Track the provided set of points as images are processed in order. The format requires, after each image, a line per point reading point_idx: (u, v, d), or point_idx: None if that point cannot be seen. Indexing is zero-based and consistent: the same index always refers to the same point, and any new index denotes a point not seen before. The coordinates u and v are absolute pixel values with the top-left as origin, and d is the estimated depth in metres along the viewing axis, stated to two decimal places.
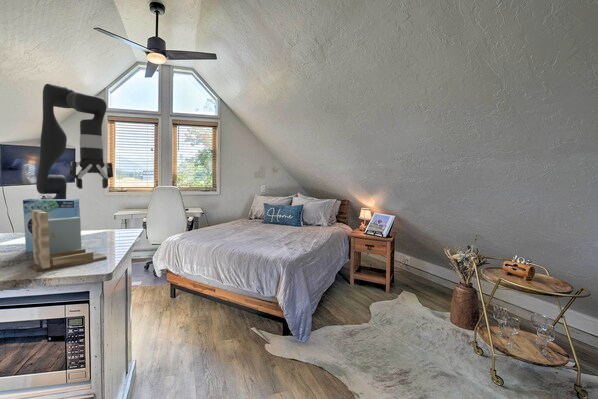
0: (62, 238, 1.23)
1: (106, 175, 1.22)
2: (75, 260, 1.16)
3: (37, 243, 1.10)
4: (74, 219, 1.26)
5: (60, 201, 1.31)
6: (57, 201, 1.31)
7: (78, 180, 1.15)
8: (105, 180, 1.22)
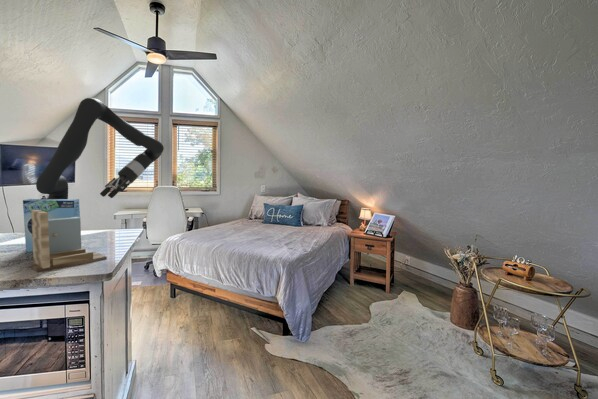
0: (62, 238, 1.23)
1: None
2: (75, 260, 1.16)
3: (37, 243, 1.10)
4: (74, 219, 1.26)
5: (60, 201, 1.31)
6: (57, 201, 1.31)
7: None
8: (108, 192, 1.41)
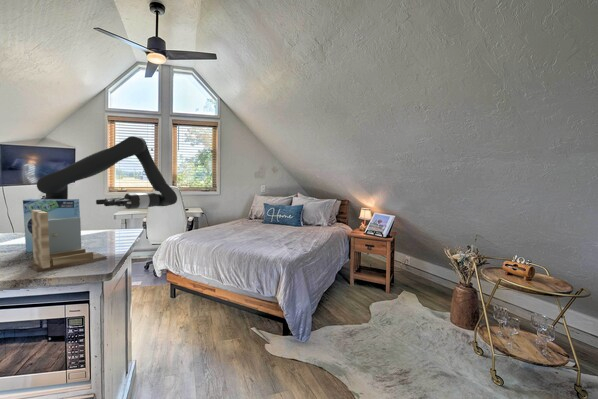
0: (62, 238, 1.23)
1: None
2: (75, 260, 1.16)
3: (37, 243, 1.10)
4: (74, 219, 1.26)
5: (60, 201, 1.31)
6: (57, 201, 1.31)
7: (113, 204, 1.35)
8: (104, 204, 1.41)
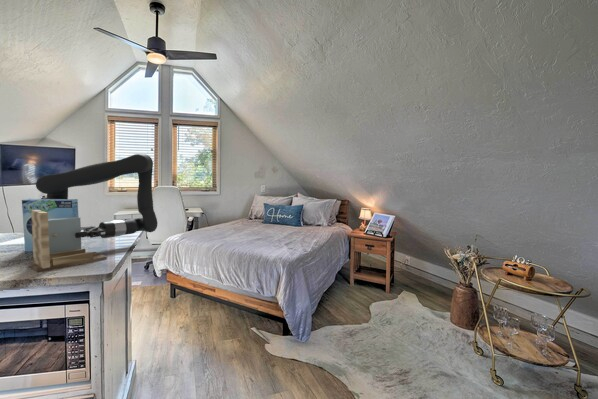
0: (62, 238, 1.23)
1: None
2: (75, 260, 1.16)
3: (37, 243, 1.10)
4: (74, 219, 1.26)
5: (58, 201, 1.31)
6: (55, 201, 1.30)
7: (85, 236, 1.27)
8: None
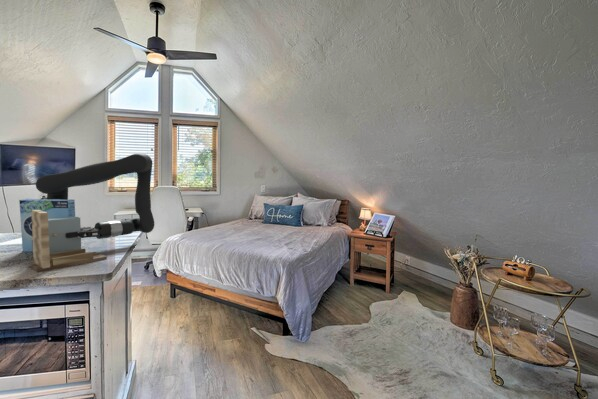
0: (62, 238, 1.23)
1: None
2: (75, 260, 1.16)
3: (37, 243, 1.10)
4: (74, 219, 1.26)
5: (55, 201, 1.30)
6: (52, 201, 1.30)
7: (75, 236, 1.26)
8: None
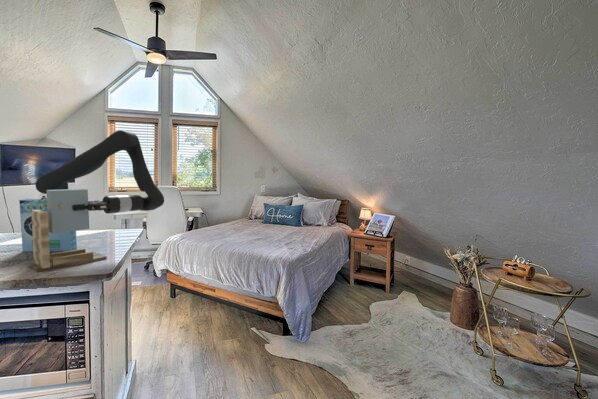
0: (69, 210, 1.15)
1: None
2: (75, 260, 1.16)
3: (37, 243, 1.10)
4: (81, 190, 1.18)
5: None
6: None
7: (83, 209, 1.18)
8: None
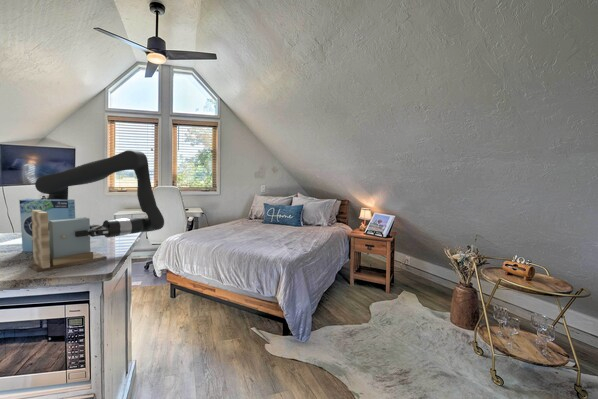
0: (71, 240, 1.17)
1: None
2: (75, 260, 1.16)
3: (37, 243, 1.10)
4: (83, 220, 1.19)
5: (55, 201, 1.30)
6: (52, 201, 1.30)
7: (85, 235, 1.19)
8: None
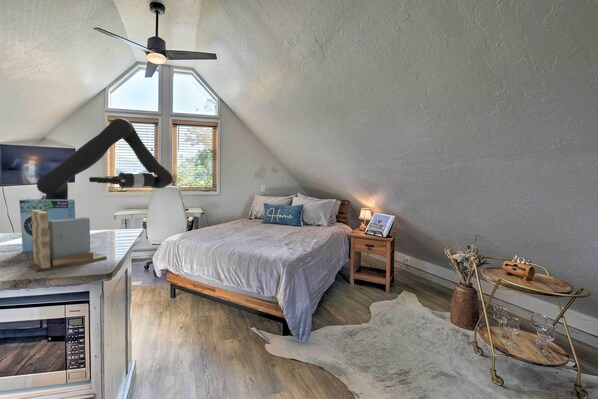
0: (71, 240, 1.17)
1: None
2: (75, 260, 1.16)
3: (37, 243, 1.10)
4: (83, 220, 1.19)
5: (55, 201, 1.30)
6: (52, 201, 1.30)
7: (106, 182, 1.32)
8: (97, 181, 1.38)
